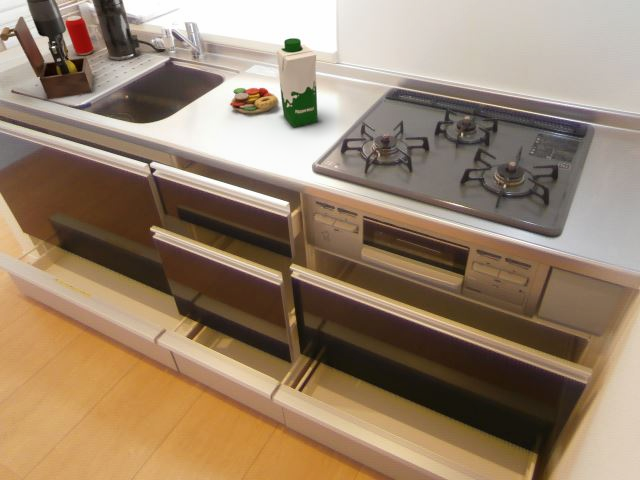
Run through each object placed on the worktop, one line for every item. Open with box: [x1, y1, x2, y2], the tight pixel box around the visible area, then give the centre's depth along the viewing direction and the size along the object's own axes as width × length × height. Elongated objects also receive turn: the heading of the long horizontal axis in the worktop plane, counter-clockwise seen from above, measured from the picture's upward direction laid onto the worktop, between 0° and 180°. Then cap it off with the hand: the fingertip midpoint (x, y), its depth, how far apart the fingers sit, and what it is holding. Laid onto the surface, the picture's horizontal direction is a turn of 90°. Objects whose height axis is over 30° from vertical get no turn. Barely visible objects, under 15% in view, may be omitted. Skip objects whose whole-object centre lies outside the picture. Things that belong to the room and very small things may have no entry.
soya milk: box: [276, 37, 319, 128], centre depth 129 cm, size 9×9×20 cm
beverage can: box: [65, 15, 94, 56], centre depth 176 cm, size 6×6×12 cm
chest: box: [39, 56, 94, 100], centre depth 155 cm, size 13×13×6 cm
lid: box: [0, 16, 46, 78], centre depth 147 cm, size 13×13×6 cm
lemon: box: [57, 59, 77, 75], centre depth 154 cm, size 6×6×8 cm
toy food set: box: [229, 87, 279, 115], centre depth 141 cm, size 13×13×3 cm
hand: (67, 73), depth 154 cm, fingers closed on lemon, 5 cm apart
